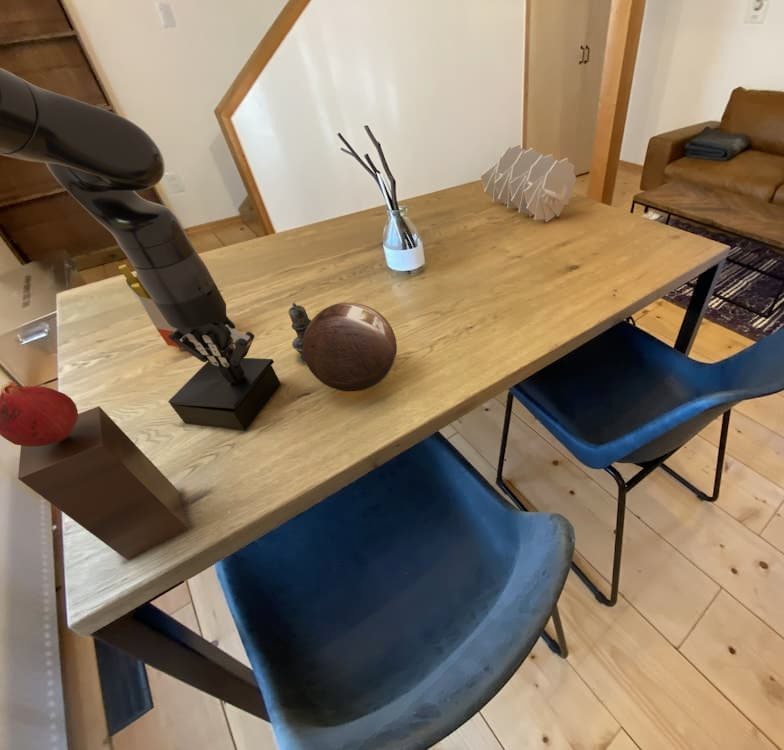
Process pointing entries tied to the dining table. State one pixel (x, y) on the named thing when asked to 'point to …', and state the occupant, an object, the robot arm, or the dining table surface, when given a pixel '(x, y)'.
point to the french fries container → (148, 305)
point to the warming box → (230, 416)
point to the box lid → (220, 385)
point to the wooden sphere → (349, 347)
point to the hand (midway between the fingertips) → (237, 379)
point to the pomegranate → (35, 415)
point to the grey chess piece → (299, 327)
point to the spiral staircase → (530, 182)
